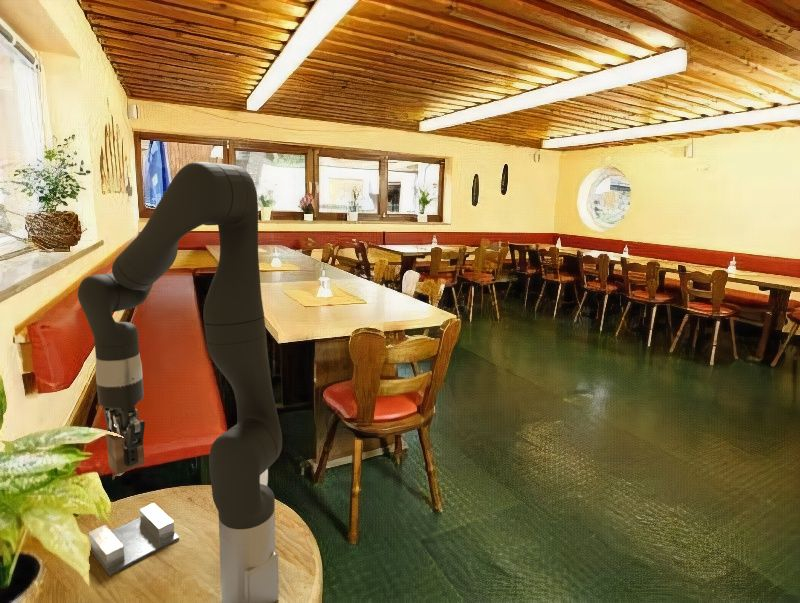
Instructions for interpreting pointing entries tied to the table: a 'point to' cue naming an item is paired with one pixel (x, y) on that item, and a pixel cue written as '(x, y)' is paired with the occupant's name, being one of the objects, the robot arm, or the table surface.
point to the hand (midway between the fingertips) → (126, 459)
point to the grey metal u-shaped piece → (132, 539)
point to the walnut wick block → (121, 454)
